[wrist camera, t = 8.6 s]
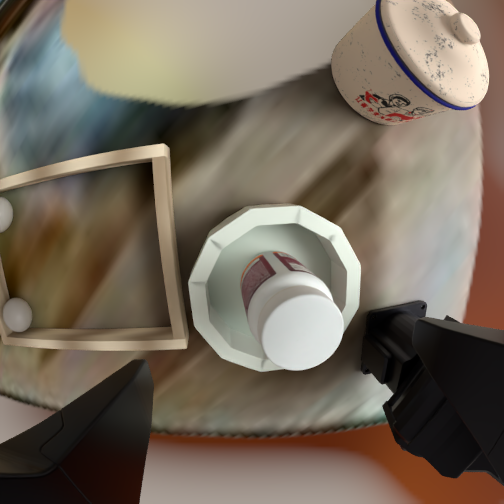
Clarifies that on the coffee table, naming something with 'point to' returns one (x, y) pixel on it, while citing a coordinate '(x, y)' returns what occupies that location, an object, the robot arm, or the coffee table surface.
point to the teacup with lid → (410, 61)
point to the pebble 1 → (5, 214)
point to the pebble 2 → (17, 314)
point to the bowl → (249, 246)
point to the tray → (168, 248)
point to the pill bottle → (290, 311)
